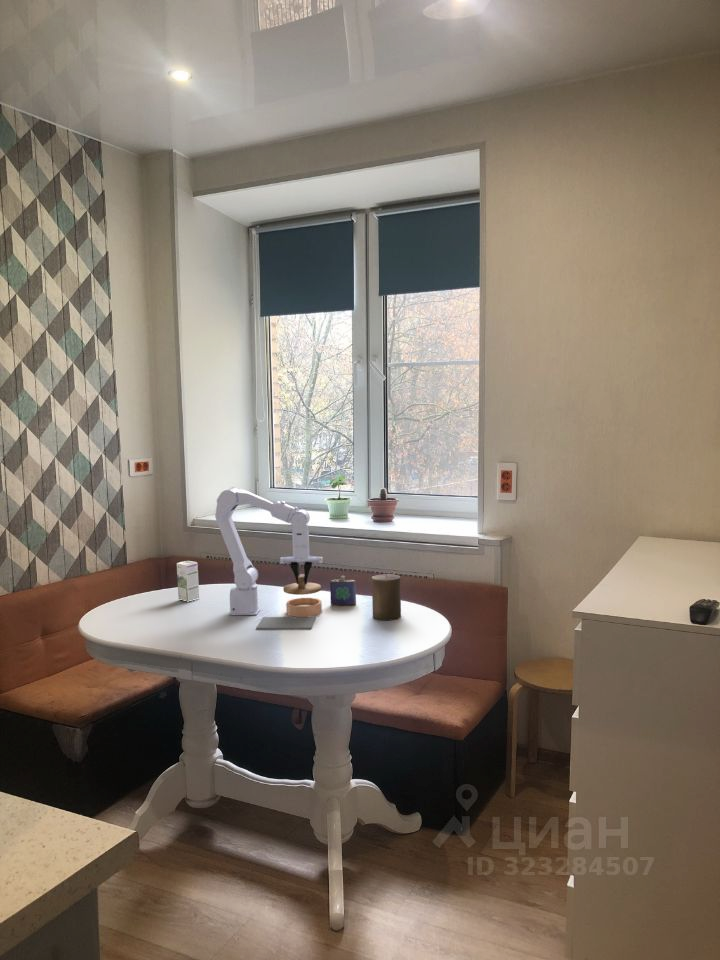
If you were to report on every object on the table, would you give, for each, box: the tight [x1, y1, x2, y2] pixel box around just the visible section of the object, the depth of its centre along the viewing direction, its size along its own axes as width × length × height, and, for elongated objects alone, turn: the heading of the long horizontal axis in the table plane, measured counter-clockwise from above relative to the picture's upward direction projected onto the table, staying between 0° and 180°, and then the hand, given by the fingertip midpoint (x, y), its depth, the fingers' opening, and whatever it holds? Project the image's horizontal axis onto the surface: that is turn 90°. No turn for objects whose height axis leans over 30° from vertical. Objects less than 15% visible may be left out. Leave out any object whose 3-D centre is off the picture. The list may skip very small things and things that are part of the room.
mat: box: [255, 616, 317, 630], centre depth 241 cm, size 18×12×1 cm, turn 87°
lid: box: [282, 573, 322, 596], centre depth 253 cm, size 13×13×5 cm
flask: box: [329, 575, 357, 607], centre depth 262 cm, size 9×3×11 cm, turn 87°
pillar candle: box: [371, 573, 402, 621], centre depth 246 cm, size 10×10×15 cm
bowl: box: [285, 597, 323, 617], centre depth 255 cm, size 12×12×4 cm
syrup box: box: [176, 560, 200, 601], centre depth 274 cm, size 6×6×14 cm
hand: (302, 583), depth 253 cm, fingers closed on lid
